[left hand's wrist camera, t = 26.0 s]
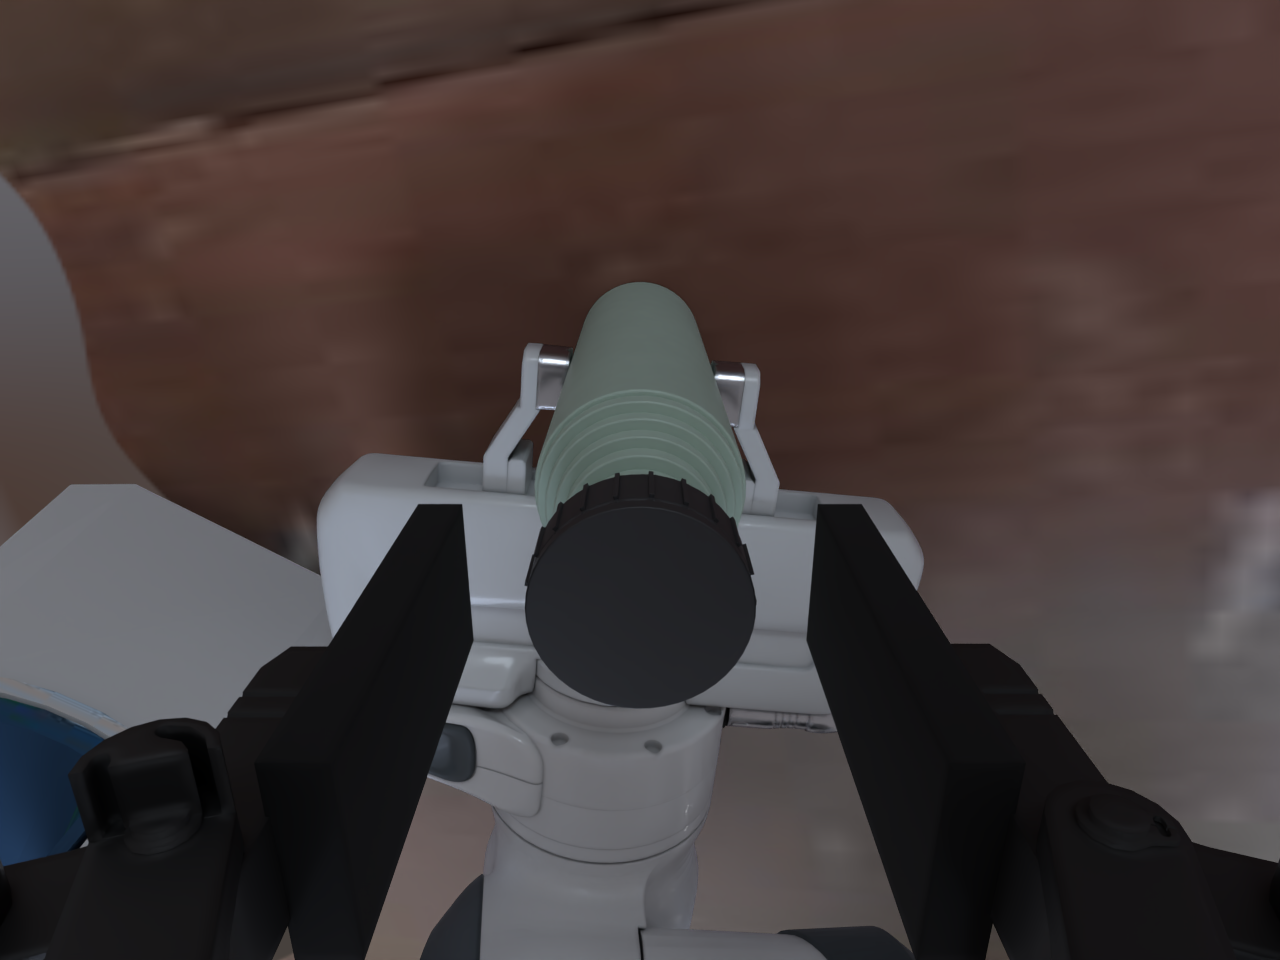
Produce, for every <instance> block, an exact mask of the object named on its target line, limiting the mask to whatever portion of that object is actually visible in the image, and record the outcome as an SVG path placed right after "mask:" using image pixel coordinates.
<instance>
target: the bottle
mask: <svg viewBox="0 0 1280 960" xmlns="http://www.w3.org/2000/svg"><path fill="white" fill-rule="evenodd" d="M649 471H653V472H654V475H659V476H663V477H668V478H672V479H675V480H678V481H681V479H682V478H683V479H686V482H687V484H689V485H690V486H692V487H694V488H696V489H698V490H700V491H701V492H703V493H704V494H706V495H707V496H709V495H710V494H712V495H713V496H714V497H715V502H716V503H717V504H718V505H719V506H720V507H721V508H722V509H723V510H724V512H725V513H726V514H727V515H728V516H729V518H731V517H734V519H735V521H736V525H737V528H738V525H739V522H740V519H741V515H742V512H743V509H744V504H745V498H746V477H745V470H744V465H743V461H742V458H741V455H740V452H739V449H738V446H737V443H736V440H735V437H734V434H733V431H732V428H731V425H730V422H729V419H728V416H727V413H726V410H725V407H724V404H723V401H722V398H721V395H720V392H719V389H718V386H717V383H716V380H715V377H714V374H713V371H712V368H711V365H710V362H709V359H708V356H707V353H706V350H705V347H704V344H703V341H702V338H701V335H700V332H699V329H698V327H697V324H696V321H695V318H694V316H693V314H692V312H691V310H690V309H689V307H688V306H687V305H686V303H685V302H684V301H683V300H682V299H681V298H680V297H679V296H678V295H676V294H675V293H674V292H672V291H671V290H669V289H667V288H665V287H663V286H660V285H657V284H653V283H647V282H633V283H627V284H623V285H620V286H618V287H615V288H613V289H611V290H610V291H608V292H606V293H605V294H604V295H603V296H601V297H600V298H599V299H598V300H597V301H596V302H595V304H594V305H593V306H592V308H591V309H590V311H589V313H588V314H587V316H586V319H585V322H584V324H583V327H582V330H581V333H580V336H579V339H578V342H577V345H576V348H575V351H574V354H573V357H572V360H571V363H570V366H569V369H568V372H567V375H566V378H565V381H564V384H563V388H562V391H561V394H560V397H559V400H558V403H557V406H556V409H555V412H554V415H553V418H552V421H551V424H550V427H549V430H548V433H547V436H546V439H545V442H544V445H543V448H542V451H541V454H540V457H539V460H538V464H537V468H536V472H535V484H534V488H535V501H536V506H537V511H538V514H539V517H540V520H541V523H542V526H543V527H546V525H547V524H548V522H549V520H550V519H551V518H552V516H553V515H554V514H555V512H556V510H557V506H558V504H559V503H560V502H562V503H563V504H564V503H565V502H566V501H567V500H568V499H570V498H571V497H572V496H574V495H575V494H576V493H578V492H579V491H581V490H583V485H584V484H586V483H588V484H589V486H590V485H592V484H595V483H597V482H600V481H602V480H606V479H609V478H613V477H615V473H620V475H630V474H648V472H649Z"/></svg>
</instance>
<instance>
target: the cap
mask: <svg viewBox="0 0 1280 960" xmlns="http://www.w3.org/2000/svg"><path fill="white" fill-rule="evenodd" d="M751 575H754V571H753V567H752V563H751V560H750V556H749V552H748V549H747V545H746V544H742V541H741V538H740V536H739V533H738V529H737V525H736V521H735V519H734V517H731V518H729V516H728V515H727V514H726V513H725V512H724V510H723V509H722V508H721V507H720V506H719V505H718V504H717V503H716V502H715V497H714V496H713V495H712V494H710V495H709V496H707V495H706V494H704V493H703V492H701V491H700V490H698V489H696V488H694V487H692V486H690V485H689V484H687V482H686V479H683V478H682V479H681V481H678V480H675V479H672V478H668V477H663V476H659V475H654V472H653V471H649V472H648V474H630V475H620V473H615V477H613V478H609V479H606V480H602V481H600V482H597V483H595V484H592V485H590V486H589V484H588V483H586V484H584V485H583V490H581V491H579V492H578V493H576V494H575V495H574V496H572V497H571V498H570V499H568V500H567V501H566V502H565V503H564V504H563V503H562V502H560V503H559V504H558V506H557V510H556V512H555V514H554V515H553V516H552V518H551V519H550V520H549V522H548V524H547V525H546V527H543V526H542V527H541V529H540V532H539V536H538V540H537V543H536V547H535V551H534V554H532V557H531V561H530V565H529V569H528V572H527V576H526V580H525V585H524V586H527V590H526V595H525V617H526V624H527V628H528V632H529V636H530V638H531V641H532V643H533V646H534V648H535V649H536V651H537V653H538V655H539V656H540V658H541V660H542V661H543V662H544V663H545V665H546V666H547V667H548V669H549V670H550V671H551V672H552V673H553V674H554V675H555V676H556V677H557V678H558V679H559V680H561V681H562V682H563V683H564V684H566V685H567V686H568V687H570V688H571V689H573V690H575V691H576V692H578V693H580V694H581V695H584V696H586V697H588V698H590V699H592V700H595V701H598V702H601V703H604V704H607V705H612V706H617V707H623V708H634V709H644V708H657V707H664V706H669V705H673V704H677V703H680V702H683V701H685V700H688V699H691V698H693V697H695V696H697V695H699V694H701V693H703V692H705V691H706V690H708V689H709V688H711V687H712V686H714V685H715V684H717V683H718V682H719V681H720V680H721V679H722V678H724V677H725V676H726V675H727V674H728V673H729V672H730V671H731V669H732V668H733V667H734V666H735V665H736V663H737V662H738V661H739V659H740V658H741V656H742V655H743V653H744V651H745V649H746V647H747V645H748V643H749V641H750V638H751V635H752V632H753V629H754V623H755V617H756V605H757V600H756V596H755V590H754V586H753V582H752V578H751Z"/></svg>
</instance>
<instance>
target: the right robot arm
mask: <svg viewBox="0 0 1280 960" xmlns="http://www.w3.org/2000/svg"><path fill="white" fill-rule="evenodd" d="M572 357H573V348H572V347H564V346H555V345H546V344H539V343H528V344H527V346H526V348H525V349H524V355H523V361H522V375H521V397H520V398H519V400H518V401H517V403H516V404H515V406H514V407H513V409H512V410H511V412H510V413H509V414H508V416H507V417H506V419H505V420H504V422H503V423H502V425H501V426H500V428H499V429H498V431H497V432H496V434H495V435H494V437H493V439H492V441H491V443H490V444H489V446H488V448H487V450H486V452H485V454H484V456H483V463H480V462H469V461H457V460H446V459H435V458H424V457H413V456H402V455H391V454H380V453H370V454H366V455H364V456H362V457H360V458H359V459H358V460H357V461H356V462H354V463H353V464H352V465H351V466H350V467H349V468H348V469H346V470H345V471H344V472H343V473H342V474H341V475H340V476H339V477H338V478H337V479H336V480H335V481H334V483H333V484H332V485H331V486H330V488H329V489H328V490H327V491H326V493H325V494H324V496H323V498H322V500H321V502H320V505H319V507H318V512H317V544H318V556H319V566H320V574H321V581H322V588H323V594H324V600H325V606H326V611H327V616H328V621H329V626H330V630H331V635H332V639H333V638H334V636H335V634H336V633H337V631H338V630H339V628H340V627H341V625H342V623H343V622H344V620H345V619H346V617H347V616H348V614H349V612H350V611H351V609H352V608H353V606H354V605H355V603H356V601H357V600H358V598H359V597H360V595H361V593H362V592H363V590H364V589H365V587H366V586H367V584H368V582H369V581H370V579H371V578H372V576H373V575H374V573H375V571H376V570H377V568H378V567H379V565H380V564H381V562H382V560H383V559H384V557H385V556H386V554H387V553H388V551H389V549H390V548H391V546H392V545H393V543H394V541H395V540H396V538H397V537H398V535H399V534H400V532H401V530H402V529H403V527H404V526H405V524H406V523H407V521H408V519H409V518H410V516H411V515H412V513H413V512H414V510H415V508H416V507H417V505H418V504H462V507H463V518H464V530H465V542H466V554H467V566H468V578H469V590H470V602H471V614H472V626H473V637H474V641H473V644H472V647H471V650H470V653H469V656H468V659H467V662H466V665H465V667H464V670H463V673H462V676H461V679H460V682H459V685H458V688H457V691H456V694H455V697H454V700H453V702H452V705H451V708H450V711H449V714H448V717H447V720H446V723H445V726H444V729H443V732H442V735H441V738H440V740H439V743H438V746H437V749H436V752H435V755H434V758H433V761H432V764H431V767H430V770H429V773H428V776H427V777H428V778H430V779H433V780H436V781H439V782H441V783H444V784H446V785H449V786H451V787H454V788H456V789H459V790H461V791H463V792H465V793H468V794H470V795H472V796H474V797H476V798H478V799H480V800H482V801H484V802H486V803H488V804H490V805H491V807H492V811H493V814H494V818H495V826H494V829H493V831H492V833H491V836H490V839H489V841H488V845H487V849H486V853H485V861H484V873H483V874H481V875H480V876H479V877H477V878H476V879H475V880H474V881H473V882H472V883H471V884H469V886H468V887H467V888H466V889H465V890H464V891H463V892H462V893H461V894H460V896H459V897H458V898H457V899H456V900H455V902H454V903H453V904H452V906H451V907H450V908H449V909H448V911H447V912H446V913H445V914H444V916H443V917H442V918H441V920H440V921H439V922H438V923H437V925H436V926H435V927H434V929H433V930H432V932H431V934H430V936H429V938H428V940H427V943H426V945H425V947H424V950H423V952H422V955H421V958H420V960H915V957H914V954H913V953H912V952H911V951H910V950H909V949H907V948H906V947H905V946H904V945H903V944H901V943H900V942H899V941H898V940H897V939H895V938H894V937H893V936H892V935H890V934H889V933H888V932H886V931H885V930H883V929H881V928H878V927H875V926H858V927H837V928H816V929H795V930H784V931H780V932H779V933H777V934H770V933H751V932H732V931H713V930H694V929H689V928H690V924H691V919H692V914H693V909H694V903H695V898H696V892H697V885H698V859H697V853H696V848H695V844H694V842H695V840H696V838H697V837H698V835H699V833H700V831H701V829H702V827H703V826H704V823H705V821H706V818H707V815H708V812H709V808H710V803H711V797H712V792H713V785H714V779H715V772H716V766H717V760H718V754H719V748H720V742H721V732H722V728H724V727H725V726H735V727H748V728H762V729H772V728H774V729H775V728H795V729H805V731H808V732H812V733H834V732H837V729H836V726H835V723H834V720H833V717H832V714H831V711H830V708H829V705H828V702H827V700H826V697H825V694H824V691H823V688H822V685H821V682H820V679H819V676H818V673H817V670H816V667H815V665H814V662H813V659H812V656H811V653H810V650H809V647H808V644H807V641H806V637H807V626H808V614H809V602H810V590H811V578H812V566H813V554H814V542H815V530H816V518H817V507H818V504H862V505H863V507H864V508H865V510H866V512H867V513H868V515H869V516H870V518H871V519H872V521H873V523H874V524H875V526H876V527H877V529H878V530H879V532H880V534H881V535H882V537H883V538H884V540H885V541H886V543H887V545H888V546H889V548H890V549H891V551H892V553H893V554H894V556H895V557H896V559H897V560H898V562H899V564H900V565H901V567H902V568H903V570H904V571H905V573H906V575H907V576H908V578H909V579H910V581H911V582H912V584H913V586H914V587H915V589H916V590H918V586H919V583H920V580H921V576H922V572H923V567H924V556H923V552H922V549H921V547H920V545H919V543H918V541H917V539H916V537H915V536H914V534H913V532H912V531H911V529H910V527H909V526H908V524H907V523H906V522H905V521H904V519H903V518H902V517H901V516H900V515H899V513H898V512H897V511H896V510H895V509H894V508H893V506H892V505H891V504H890V503H888V502H887V501H885V500H883V499H880V498H874V497H862V496H851V495H839V494H828V493H817V492H806V491H795V490H783V489H779V484H780V482H779V480H778V477H777V475H776V473H775V470H774V468H773V465H772V463H771V461H770V458H769V456H768V453H767V451H766V449H765V446H764V444H763V441H762V439H761V437H760V434H759V432H758V429H757V427H756V425H755V416H756V410H757V403H758V396H759V390H760V371H759V369H758V367H757V365H756V364H750V363H740V362H727V361H715V360H712V362H711V368H712V371H713V374H714V377H715V380H716V383H717V386H718V389H719V392H720V395H721V398H722V401H723V404H724V407H725V410H726V413H727V416H728V419H729V422H730V425H731V427H733V428H734V430H735V433H736V435H737V437H738V440H739V442H740V444H741V447H742V449H743V451H744V454H745V456H746V458H747V460H748V463H747V461H746V460H745V459H742V461H743V465H744V470H745V477H746V498H745V504H744V509H743V512H742V515H741V519H740V522H739V525H738V528H737V529H738V533H739V536H740V538H741V541H742V544H746V545H747V549H748V552H749V556H750V560H751V563H752V567H753V571H754V575H751V578H752V582H753V586H754V590H755V596H756V600H757V605H756V617H755V623H754V629H753V632H752V635H751V638H750V641H749V643H748V645H747V647H746V649H745V651H744V653H743V655H742V656H741V658H740V659H739V661H738V662H737V663H736V665H735V666H734V667H733V668H732V669H731V671H730V672H729V673H728V674H727V675H726V676H725V677H724V678H722V679H721V680H720V681H719V682H718V683H717V684H715V685H714V686H712V687H711V688H709V689H708V690H706V691H705V692H703V693H701V694H699V695H697V696H695V697H693V698H691V699H688V700H685V701H683V702H680V703H677V704H673V705H669V706H664V707H657V708H644V709H634V708H623V707H617V706H612V705H607V704H604V703H601V702H598V701H595V700H592V699H590V698H588V697H586V696H584V695H581V694H580V693H578V692H576V691H575V690H573V689H571V688H570V687H568V686H567V685H566V684H564V683H563V682H562V681H561V680H559V679H558V678H557V677H556V676H555V675H554V674H553V673H552V672H551V671H550V670H549V669H548V667H547V666H546V665H545V663H544V662H543V661H542V660H541V658H540V656H539V655H538V653H537V651H536V649H535V648H534V646H533V643H532V641H531V638H530V636H529V632H528V628H527V624H526V617H525V595H526V590H527V586H524V585H525V580H526V576H527V572H528V569H529V565H530V561H531V557H532V554H534V551H535V547H536V543H537V540H538V536H539V532H540V529H541V527H542V523H541V520H540V517H539V514H538V511H537V506H536V501H535V488H534V484H535V472H536V467H532V466H533V442H532V441H531V440H526V439H521V438H522V436H523V435H524V433H525V432H526V430H527V429H528V427H529V426H530V424H531V423H532V421H533V420H534V418H535V417H536V416H537V414H538V413H539V411H540V409H546V410H555V409H556V406H557V403H558V400H559V397H560V394H561V391H562V388H563V384H564V381H565V378H566V375H567V372H568V369H569V366H570V363H571V360H572Z"/></svg>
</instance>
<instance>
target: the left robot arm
mask: <svg viewBox="0 0 1280 960" xmlns="http://www.w3.org/2000/svg"><path fill="white" fill-rule="evenodd" d="M473 641H474V637H473V626H472V614H471V602H470V590H469V578H468V566H467V554H466V542H465V530H464V518H463V507H462V504H418V505H417V507H416V508H415V510H414V512H413V513H412V515H411V516H410V518H409V519H408V521H407V523H406V524H405V526H404V527H403V529H402V530H401V532H400V534H399V535H398V537H397V538H396V540H395V541H394V543H393V545H392V546H391V548H390V549H389V551H388V553H387V554H386V556H385V557H384V559H383V560H382V562H381V564H380V565H379V567H378V568H377V570H376V571H375V573H374V575H373V576H372V578H371V579H370V581H369V582H368V584H367V586H366V587H365V589H364V590H363V592H362V593H361V595H360V597H359V598H358V600H357V601H356V603H355V605H354V606H353V608H352V609H351V611H350V612H349V614H348V616H347V617H346V619H345V620H344V622H343V623H342V625H341V627H340V628H339V630H338V631H337V633H336V634H335V636H334V638H333V639H332V641H331V642H330V644H329V645H328V646H291V647H289V648H288V649H287V650H285V651H284V652H282V653H281V654H279V655H278V656H277V657H275V658H274V659H272V660H271V661H269V662H268V663H266V664H265V665H264V666H262V667H261V668H260V669H259V670H258V672H257V673H256V675H255V676H254V677H253V679H252V680H251V681H250V683H249V684H248V685H247V687H246V688H245V689H244V691H243V695H242V697H239V698H238V699H237V700H236V702H235V703H234V704H233V706H232V707H231V708H230V710H229V711H228V715H227V718H223V719H222V721H221V722H220V723H219V725H218V726H217V727H216V729H215V728H214V727H212V726H211V725H210V724H209V723H208V722H205V721H201V720H196V719H191V718H171V719H159V720H155V721H152V722H148V723H144V724H141V725H137V726H133V727H130V728H128V729H126V730H124V731H122V732H120V733H118V734H115V735H113V736H111V737H109V738H107V739H105V740H103V741H102V742H100V743H99V744H98V745H96V746H95V747H94V748H92V749H91V750H90V751H88V752H87V753H86V754H84V755H83V756H82V757H81V758H80V759H79V760H78V762H77V763H76V764H75V766H74V767H73V768H72V770H71V771H70V772H69V774H68V778H69V781H70V784H71V787H72V790H73V794H74V797H75V800H76V803H77V807H78V810H79V813H80V816H81V819H82V823H83V826H84V829H85V832H86V836H87V839H88V842H89V843H88V845H87V846H85V847H82V848H78V849H75V850H72V851H68V852H63V853H59V854H55V855H50V856H46V857H42V858H37V859H33V860H29V861H24V862H20V863H16V864H11V865H7V866H3V865H2V862H1V860H0V960H272V959H273V957H274V954H275V952H276V950H277V948H278V946H279V944H280V941H281V939H282V937H283V935H284V933H285V930H286V928H287V926H288V929H289V933H290V938H291V943H292V948H293V953H294V958H295V960H365V957H366V954H367V951H368V948H369V945H370V942H371V939H372V936H373V933H374V930H375V927H376V925H377V922H378V919H379V916H380V913H381V910H382V907H383V904H384V901H385V898H386V895H387V892H388V889H389V887H390V884H391V881H392V878H393V875H394V872H395V869H396V866H397V863H398V860H399V857H400V854H401V851H402V849H403V846H404V843H405V840H406V837H407V834H408V831H409V828H410V825H411V822H412V819H413V816H414V814H415V811H416V808H417V805H418V802H419V799H420V796H421V793H422V790H423V787H424V784H425V781H426V778H427V776H428V773H429V770H430V767H431V764H432V761H433V758H434V755H435V752H436V749H437V746H438V743H439V740H440V738H441V735H442V732H443V729H444V726H445V723H446V720H447V717H448V714H449V711H450V708H451V705H452V702H453V700H454V697H455V694H456V691H457V688H458V685H459V682H460V679H461V676H462V673H463V670H464V667H465V665H466V662H467V659H468V656H469V653H470V650H471V647H472V644H473ZM806 641H807V644H808V647H809V650H810V653H811V656H812V659H813V662H814V665H815V667H816V670H817V673H818V676H819V679H820V682H821V685H822V688H823V691H824V694H825V697H826V700H827V702H828V705H829V708H830V711H831V714H832V717H833V720H834V723H835V726H836V729H837V732H838V735H839V738H840V740H841V743H842V746H843V749H844V752H845V755H846V758H847V761H848V764H849V767H850V770H851V773H852V776H853V778H854V781H855V784H856V787H857V790H858V793H859V796H860V799H861V802H862V805H863V808H864V811H865V814H866V816H867V819H868V822H869V825H870V828H871V831H872V834H873V837H874V840H875V843H876V846H877V849H878V851H879V854H880V857H881V860H882V863H883V866H884V869H885V872H886V875H887V878H888V881H889V884H890V887H891V889H892V892H893V895H894V898H895V901H896V904H897V907H898V910H899V913H900V916H901V919H902V922H903V925H904V927H905V930H906V933H907V936H908V939H909V942H910V945H911V948H912V951H913V954H914V957H915V960H985V958H986V953H987V948H988V943H989V938H990V934H991V929H992V924H994V926H995V928H996V931H997V933H998V935H999V937H1000V939H1001V942H1002V944H1003V946H1004V948H1005V950H1006V952H1007V955H1008V957H1009V959H1010V960H1280V860H1279V862H1278V863H1275V862H1271V861H1267V860H1262V859H1258V858H1254V857H1249V856H1245V855H1240V854H1236V853H1232V852H1227V851H1223V850H1219V849H1214V848H1210V847H1207V846H1203V845H1200V844H1197V843H1193V842H1192V841H1191V840H1190V838H1189V837H1188V835H1187V834H1186V832H1185V831H1184V829H1183V828H1182V826H1181V825H1180V823H1179V822H1178V821H1177V820H1176V819H1175V818H1173V817H1172V816H1171V815H1170V814H1169V813H1167V812H1166V811H1165V810H1164V809H1163V808H1162V807H1160V806H1159V805H1158V804H1156V803H1154V802H1152V801H1151V800H1149V799H1147V798H1145V797H1143V796H1141V795H1139V794H1137V793H1135V792H1134V791H1132V790H1129V789H1125V788H1122V787H1119V786H1115V785H1112V784H1109V783H1107V781H1106V780H1105V779H1104V777H1103V776H1102V775H1101V773H1100V772H1099V771H1098V769H1097V768H1096V767H1095V765H1094V764H1093V763H1092V761H1091V760H1090V759H1089V757H1088V756H1087V755H1086V753H1085V752H1084V750H1083V749H1082V748H1081V746H1080V745H1079V744H1078V742H1077V741H1076V740H1075V738H1074V737H1073V736H1072V734H1071V733H1070V732H1069V730H1068V729H1067V728H1066V726H1065V725H1064V724H1063V722H1062V721H1061V720H1060V718H1059V717H1058V716H1057V715H1054V714H1053V709H1052V707H1051V706H1050V705H1049V703H1048V702H1047V701H1046V699H1045V698H1044V697H1043V695H1042V694H1038V689H1037V687H1036V686H1035V685H1034V683H1033V682H1032V681H1031V679H1030V678H1029V677H1028V675H1027V674H1026V673H1025V671H1024V670H1023V669H1022V667H1021V666H1020V665H1019V664H1018V663H1016V662H1015V661H1013V660H1012V659H1011V658H1009V657H1008V656H1006V655H1005V654H1003V653H1002V652H1000V651H999V650H998V649H996V648H995V647H993V646H992V645H990V644H950V642H949V641H948V639H947V638H946V636H945V634H944V633H943V631H942V630H941V628H940V627H939V625H938V623H937V622H936V620H935V619H934V617H933V616H932V614H931V612H930V611H929V609H928V608H927V606H926V605H925V603H924V601H923V600H922V598H921V597H920V595H919V593H918V592H917V590H916V589H915V587H914V586H913V584H912V582H911V581H910V579H909V578H908V576H907V575H906V573H905V571H904V570H903V568H902V567H901V565H900V564H899V562H898V560H897V559H896V557H895V556H894V554H893V553H892V551H891V549H890V548H889V546H888V545H887V543H886V541H885V540H884V538H883V537H882V535H881V534H880V532H879V530H878V529H877V527H876V526H875V524H874V523H873V521H872V519H871V518H870V516H869V515H868V513H867V512H866V510H865V508H864V507H863V505H862V504H818V507H817V518H816V530H815V542H814V554H813V566H812V578H811V590H810V602H809V614H808V626H807V637H806Z"/></svg>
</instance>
